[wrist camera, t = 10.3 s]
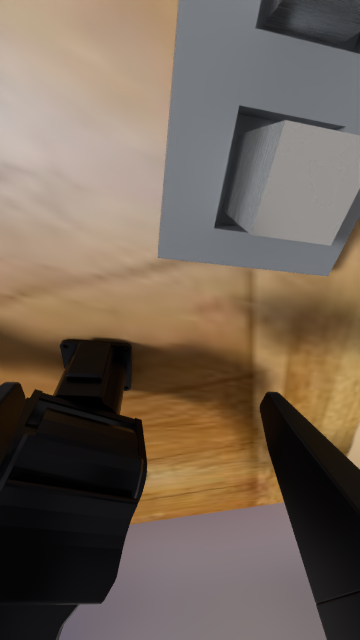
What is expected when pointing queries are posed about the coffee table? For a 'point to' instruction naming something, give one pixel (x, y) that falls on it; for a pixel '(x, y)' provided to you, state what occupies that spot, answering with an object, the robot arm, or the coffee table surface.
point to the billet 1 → (315, 18)
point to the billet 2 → (293, 181)
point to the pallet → (245, 127)
